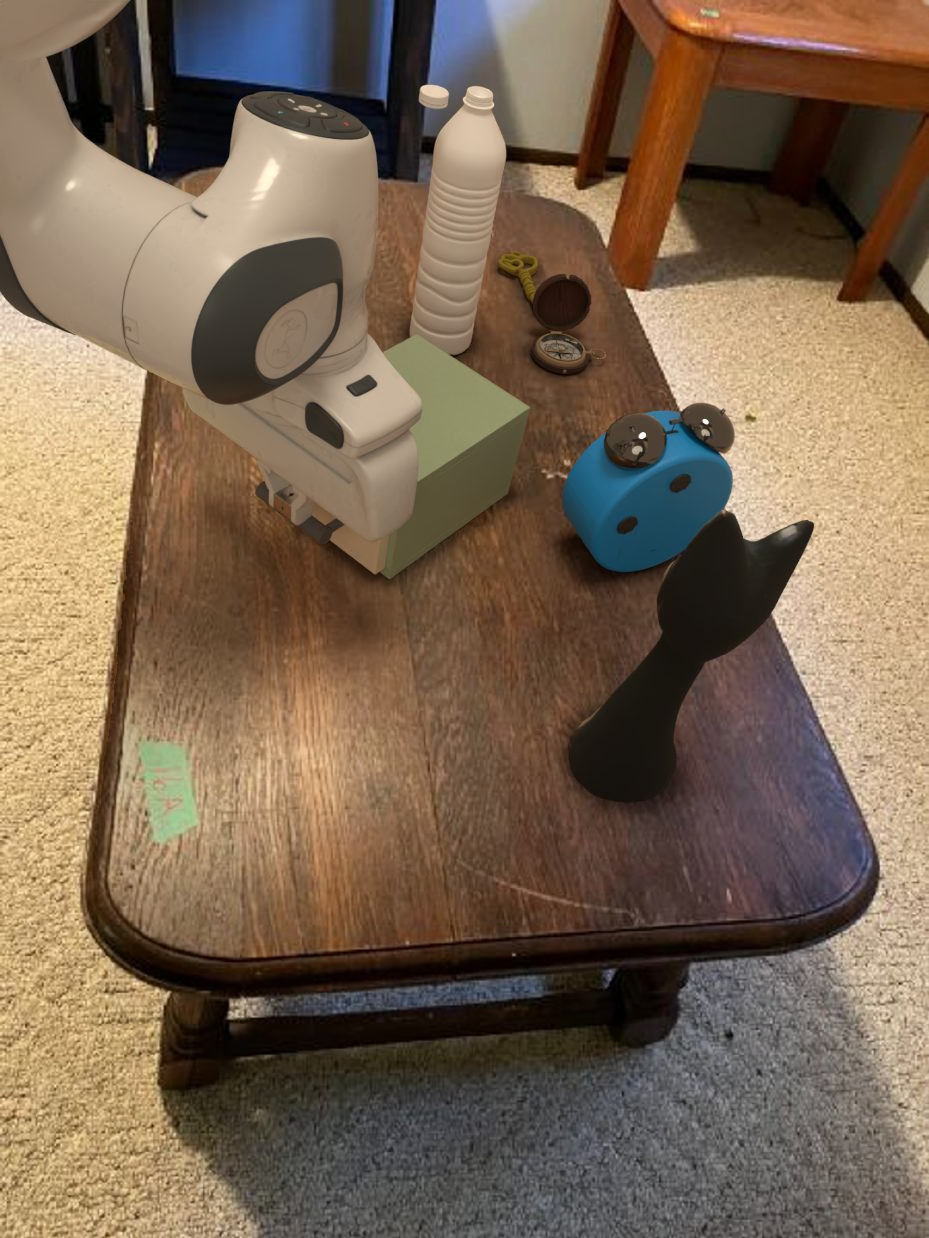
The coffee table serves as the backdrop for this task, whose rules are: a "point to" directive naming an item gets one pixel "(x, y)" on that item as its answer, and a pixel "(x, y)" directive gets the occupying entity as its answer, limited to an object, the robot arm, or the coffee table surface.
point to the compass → (561, 323)
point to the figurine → (683, 652)
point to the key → (520, 270)
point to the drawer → (338, 535)
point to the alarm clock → (650, 485)
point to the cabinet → (453, 447)
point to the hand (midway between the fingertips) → (290, 512)
